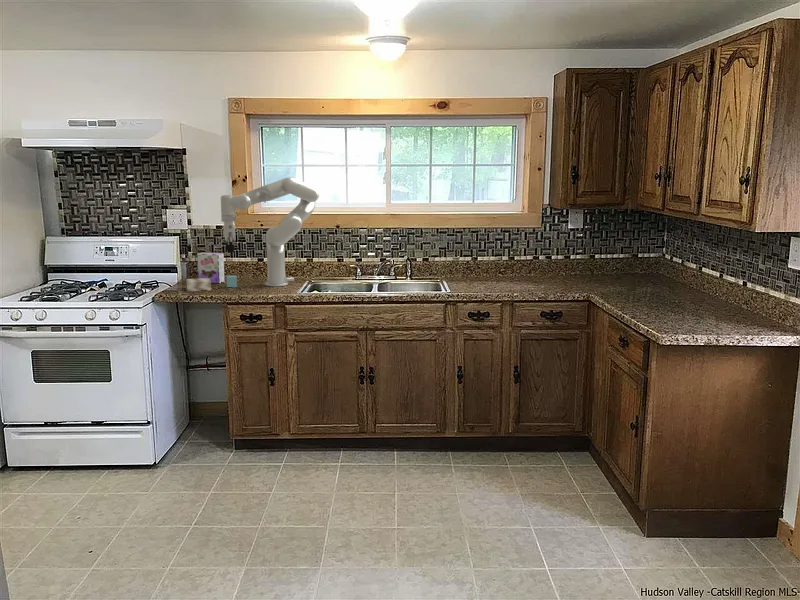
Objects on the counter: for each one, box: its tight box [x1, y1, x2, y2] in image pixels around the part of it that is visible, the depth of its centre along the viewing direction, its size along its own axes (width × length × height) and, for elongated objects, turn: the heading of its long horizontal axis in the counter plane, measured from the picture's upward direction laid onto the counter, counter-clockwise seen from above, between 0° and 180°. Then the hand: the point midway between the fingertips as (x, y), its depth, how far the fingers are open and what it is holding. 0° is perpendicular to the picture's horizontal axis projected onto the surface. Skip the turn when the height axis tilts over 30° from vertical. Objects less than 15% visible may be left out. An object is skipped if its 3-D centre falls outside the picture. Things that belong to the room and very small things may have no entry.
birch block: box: [186, 278, 212, 292], centre depth 344 cm, size 12×12×5 cm
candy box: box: [196, 252, 226, 284], centre depth 364 cm, size 14×6×16 cm, turn 73°
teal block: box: [225, 275, 238, 288], centre depth 349 cm, size 5×5×6 cm
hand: (229, 251), depth 346 cm, fingers open, 9 cm apart
